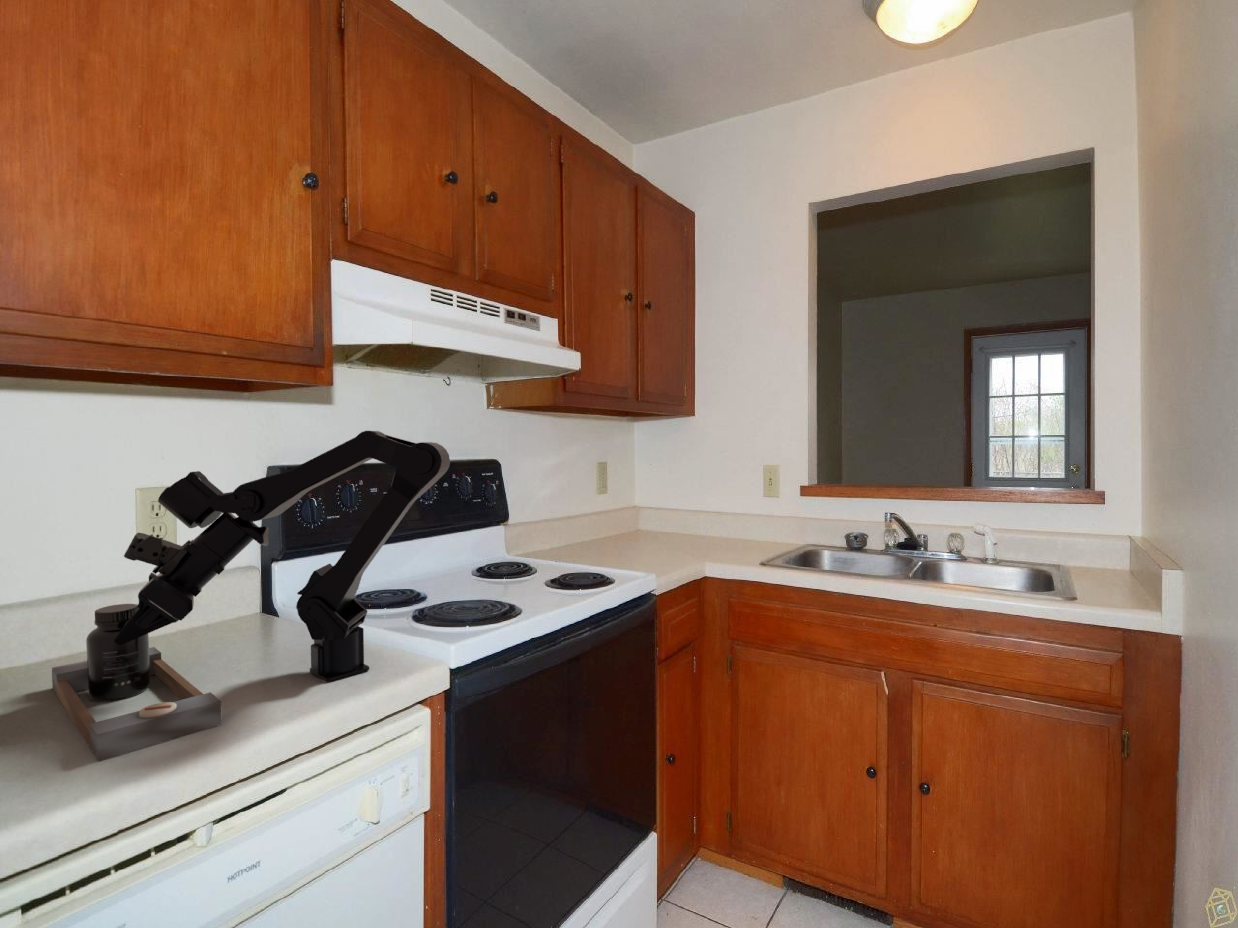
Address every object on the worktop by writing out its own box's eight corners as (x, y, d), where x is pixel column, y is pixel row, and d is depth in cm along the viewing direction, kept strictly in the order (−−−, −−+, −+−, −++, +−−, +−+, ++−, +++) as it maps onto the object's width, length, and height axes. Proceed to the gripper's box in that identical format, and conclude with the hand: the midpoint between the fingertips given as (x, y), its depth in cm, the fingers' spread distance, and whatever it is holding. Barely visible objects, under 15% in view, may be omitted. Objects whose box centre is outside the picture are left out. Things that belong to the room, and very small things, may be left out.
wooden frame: (154, 665, 99) (154, 643, 99) (221, 724, 79) (220, 695, 79) (52, 688, 90) (51, 663, 90) (98, 761, 70) (96, 728, 70)
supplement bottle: (85, 692, 89) (82, 607, 89) (145, 679, 94) (143, 598, 93) (91, 707, 84) (88, 617, 84) (154, 692, 89) (152, 607, 88)
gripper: (171, 506, 99) (81, 585, 94) (159, 519, 83) (50, 615, 78) (231, 552, 103) (148, 630, 98) (231, 573, 88) (132, 667, 82)
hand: (121, 634), depth 89 cm, fingers open, 9 cm apart
